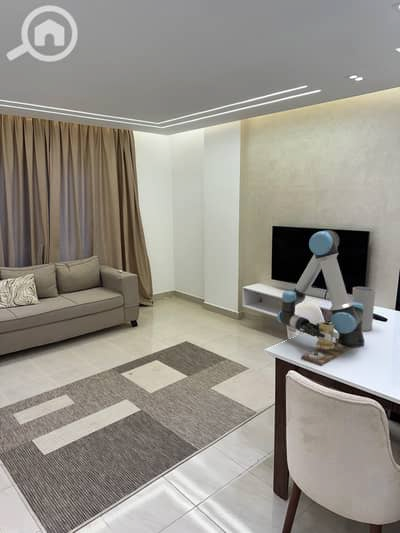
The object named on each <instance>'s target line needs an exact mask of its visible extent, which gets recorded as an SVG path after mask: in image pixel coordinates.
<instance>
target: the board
mask: <svg viewBox="0 0 400 533" xmlns="http://www.w3.org/2000/svg"><path fill="white" fill-rule="evenodd" d="M333 344H334V347H333V348H332V349H322V348H319V347H318V346H317V348H314V349H312V350H311V351H308V352H307V353H304V354H303V355H301V357H300V360H303V361H305V362H308V363H312V364H314V365H318V366H322V367H323V366H324V365H325V364H328V363H329V362H331V361H333V360H335V358H338V357H339V356H342V355H343V354H345V353H347V352H348V351H349V347H347V346H343V345H341V344H339V343H338V340H336V341H335V342H334V341H333Z"/></svg>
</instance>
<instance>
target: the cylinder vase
mask: <svg viewBox="0 0 400 533" xmlns="http://www.w3.org/2000/svg"><path fill="white" fill-rule="evenodd" d="M375 294H376V289H375V288H372V287H368V286H367V287H366V286H354V287H352V296H351V298H352V299H351V302H356V303H361V304H363V306H364V311H363V323H362V332H368V331H372V330H373V319H374V307H375V297H376V295H375Z"/></svg>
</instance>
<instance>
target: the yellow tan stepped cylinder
mask: <svg viewBox="0 0 400 533" xmlns="http://www.w3.org/2000/svg"><path fill="white" fill-rule="evenodd" d="M320 331H321V332H324V333H326V334H329V335H331V341H329V340H326V339H324V338H322V337H320V336H319V338H317V339H318V340H317V341H316V343H315V346H317V348H318V347H319V348H322V349H332V348H333V347H334V344H333V342H334V337H333V332H335V329H334V324H332V323H331V322H328V321H322V322H319V333H320Z"/></svg>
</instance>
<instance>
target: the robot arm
mask: <svg viewBox="0 0 400 533" xmlns="http://www.w3.org/2000/svg"><path fill="white" fill-rule="evenodd" d="M339 244H340V237H339V235H338V233H337V232H335V231H333V230H329V229H327V230H321V231H318V232H315V233H314V234H313V235H312V236H311V237H310V239H309V242H308V246H309V249H310V251H311V252H312V253H313V255H312V257H311V258H310V260H309V262H308V263H307V266H306V268H304V271H303V273H302V274H301V276H300V278H299V280H298V282H297V283H296V285H295V287H294V289H293V290H286V291H283V292H282V297H281V310H279V311H278V313H277V316H276V319H277V321H278V322H279V323H281V324H283V325H284V326H287V327H290V328H292V329H295V331H296V330H297V331H299V332H301V333H305V334H306V335H308V336H311V337H313V338H315V337H316V338H317V339H318V338H319V336H320V337H322V338H324V339H326V340H329V341H331V335H329V334H326V333H324V332H321V331H320V333H319V323H320V322H319V323H318V322H316V324H314V323H313V322H311V321H310V320H309V319H308V318H305V317H303V316H301V315H298V314H296V306H297V305H299V304H302V303H303V302H304V301H305V300H306V295H307V294H308V291H309V290H310V288H311V286H312V285H313V284H314V282H315V280H316V279H317V277H318V275H319V273H320V272H321V271H322V274H323V275H322V276H323V277H324V281H325V285H326V288H327V292H328V296H329V299H330V303H331V306H330V310H329V311H330V312H331V319H330V323H332V324H334V332H333V339H334V341H335V342H336V340H338V343H339V344H341V345H343V346H344V347H347V348H360V347H361V348H362V347H364V346H365V337H364V333H363V331H362V323H363V311H364V306H363V304H361V303H356V302H352V301H350V300H349V296H348V293H347V290H346V285H345V282H344V279H343V275H342V271H341V269H340V266H339V262H338V259H337V258H338V255H339V251H338V247H339Z"/></svg>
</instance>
